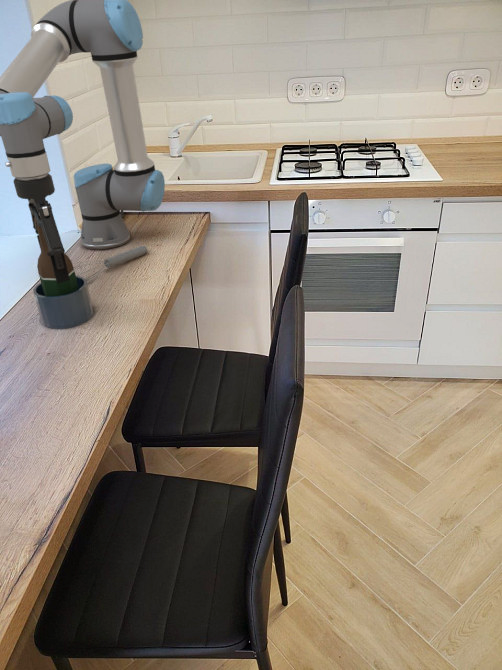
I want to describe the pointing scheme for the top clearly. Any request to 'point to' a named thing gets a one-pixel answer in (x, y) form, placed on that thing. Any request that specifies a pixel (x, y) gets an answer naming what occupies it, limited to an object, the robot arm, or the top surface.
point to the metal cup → (64, 306)
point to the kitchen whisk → (118, 259)
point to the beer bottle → (47, 272)
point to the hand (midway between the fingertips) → (56, 270)
